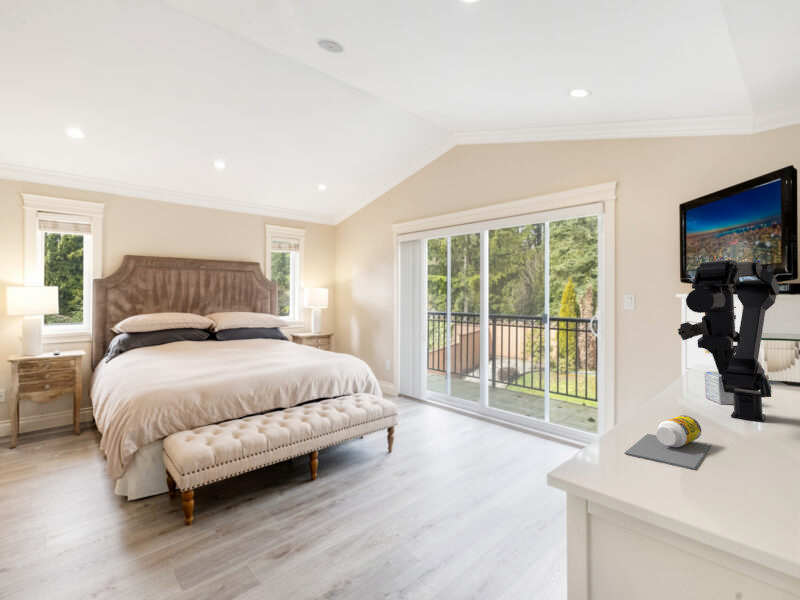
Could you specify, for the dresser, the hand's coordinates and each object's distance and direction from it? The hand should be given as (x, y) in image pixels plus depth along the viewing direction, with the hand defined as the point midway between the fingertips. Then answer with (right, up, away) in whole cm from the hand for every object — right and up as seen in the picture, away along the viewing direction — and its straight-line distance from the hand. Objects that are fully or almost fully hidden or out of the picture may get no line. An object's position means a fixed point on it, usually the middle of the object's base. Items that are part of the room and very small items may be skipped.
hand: (722, 374), depth 99 cm
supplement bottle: (-14, -10, -8) cm, 20 cm away
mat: (-22, -14, -14) cm, 30 cm away
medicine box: (+19, -13, +24) cm, 33 cm away
